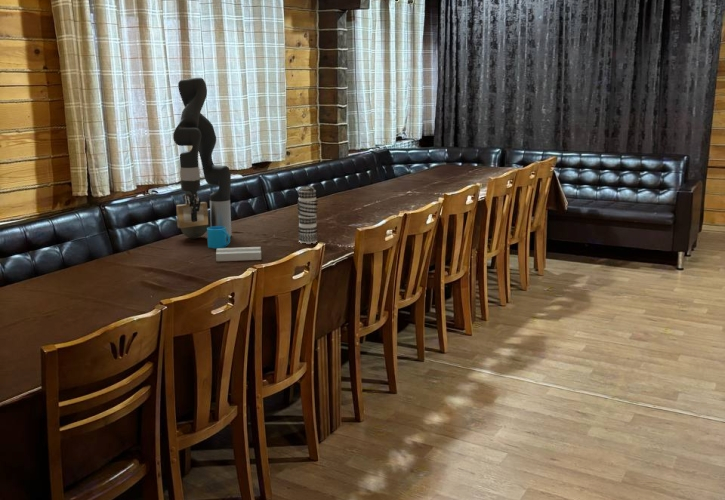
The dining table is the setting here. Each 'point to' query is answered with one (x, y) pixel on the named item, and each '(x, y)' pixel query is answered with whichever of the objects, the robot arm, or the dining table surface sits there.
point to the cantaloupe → (195, 230)
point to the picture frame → (185, 215)
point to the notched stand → (238, 254)
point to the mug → (217, 237)
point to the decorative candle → (307, 215)
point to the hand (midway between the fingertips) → (192, 220)
